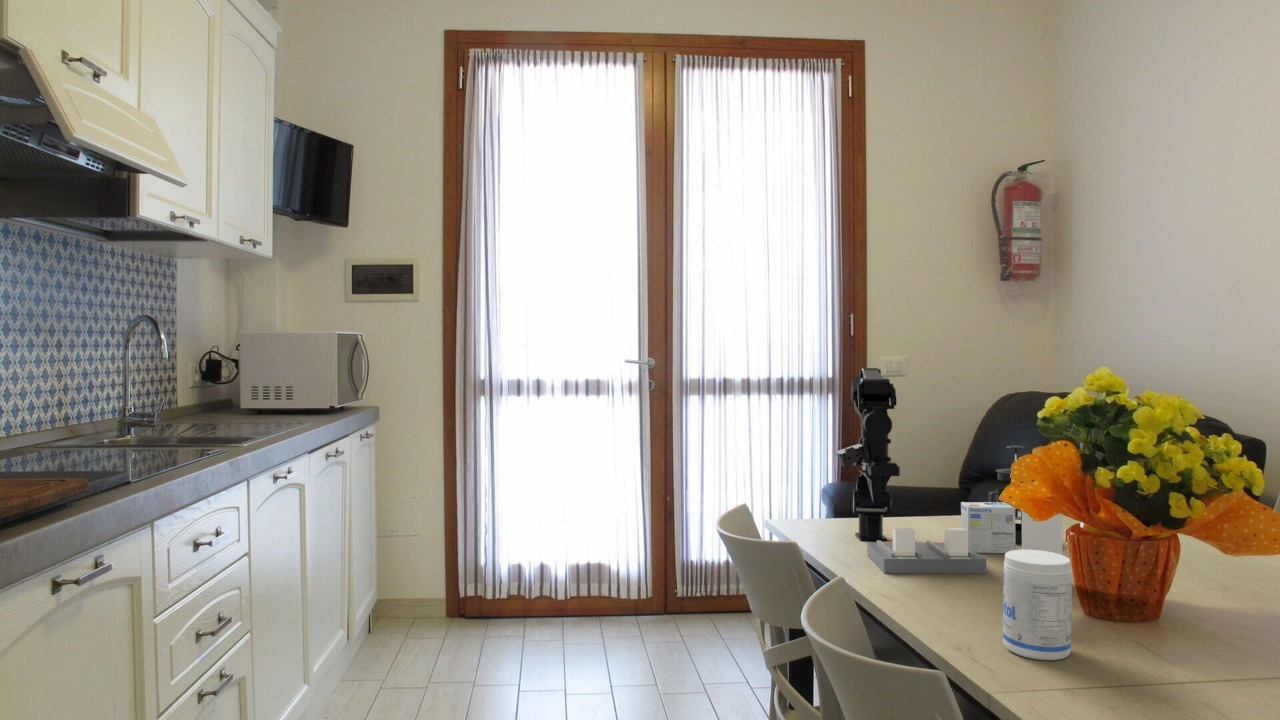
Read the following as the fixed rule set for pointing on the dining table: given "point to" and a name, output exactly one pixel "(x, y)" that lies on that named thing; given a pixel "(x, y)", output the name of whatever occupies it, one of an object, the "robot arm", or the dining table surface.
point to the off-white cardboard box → (1042, 534)
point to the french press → (1003, 476)
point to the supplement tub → (1037, 604)
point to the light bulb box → (989, 526)
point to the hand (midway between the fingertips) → (875, 502)
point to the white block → (903, 541)
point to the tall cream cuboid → (956, 541)
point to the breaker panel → (925, 559)
